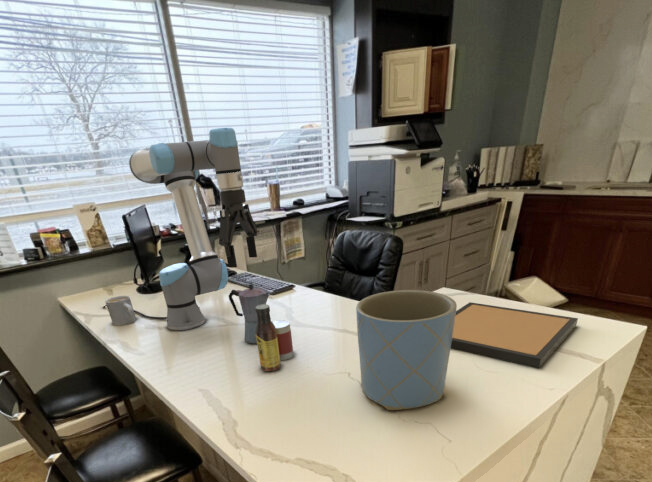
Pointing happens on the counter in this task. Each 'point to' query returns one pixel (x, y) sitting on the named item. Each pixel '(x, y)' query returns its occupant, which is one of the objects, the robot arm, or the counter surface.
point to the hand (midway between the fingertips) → (243, 262)
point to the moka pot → (249, 308)
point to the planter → (405, 346)
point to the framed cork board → (509, 333)
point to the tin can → (284, 339)
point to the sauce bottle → (267, 339)
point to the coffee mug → (121, 310)
